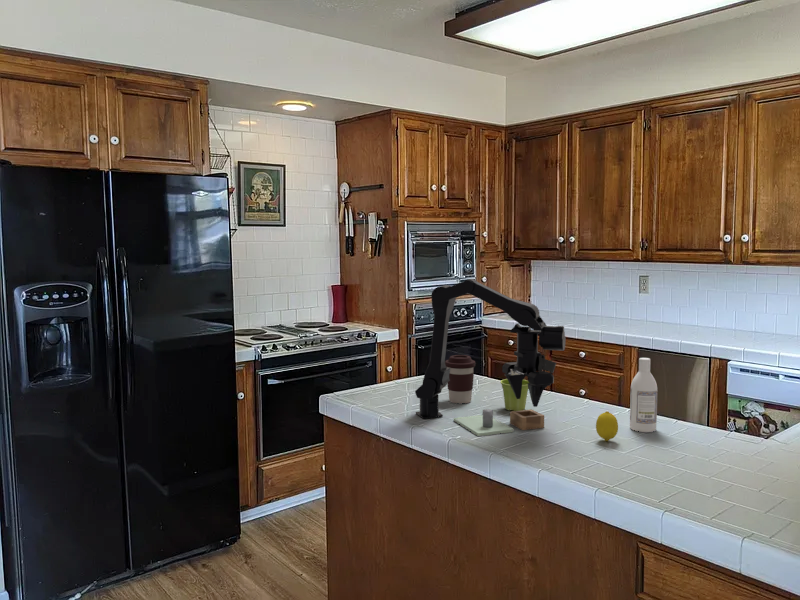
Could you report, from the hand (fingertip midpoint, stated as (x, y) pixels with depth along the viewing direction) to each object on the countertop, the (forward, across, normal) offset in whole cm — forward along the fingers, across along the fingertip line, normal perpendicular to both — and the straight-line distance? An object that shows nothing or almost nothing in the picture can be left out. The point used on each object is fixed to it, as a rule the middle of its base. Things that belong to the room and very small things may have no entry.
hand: (526, 402), depth 181 cm
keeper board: (+7, +4, +12) cm, 14 cm away
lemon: (+7, -20, -12) cm, 24 cm away
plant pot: (+7, +17, -6) cm, 19 cm away
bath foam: (+7, -15, -28) cm, 33 cm away
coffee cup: (+7, +32, +6) cm, 33 cm away
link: (+7, 0, 0) cm, 7 cm away
